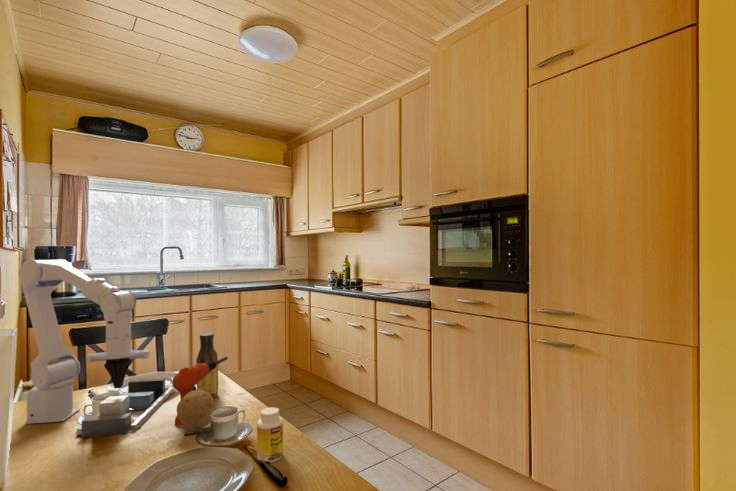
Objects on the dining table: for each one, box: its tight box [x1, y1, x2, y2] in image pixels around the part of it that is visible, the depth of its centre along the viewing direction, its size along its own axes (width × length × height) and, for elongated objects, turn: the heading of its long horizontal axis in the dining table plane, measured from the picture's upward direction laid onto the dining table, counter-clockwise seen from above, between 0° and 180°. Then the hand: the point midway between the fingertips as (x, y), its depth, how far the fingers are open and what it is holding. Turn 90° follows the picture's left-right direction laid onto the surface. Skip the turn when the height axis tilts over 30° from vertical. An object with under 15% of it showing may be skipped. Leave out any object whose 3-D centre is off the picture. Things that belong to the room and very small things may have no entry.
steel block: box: [98, 395, 130, 415], centre depth 101 cm, size 5×5×7 cm
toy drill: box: [171, 356, 229, 427], centre depth 109 cm, size 5×19×15 cm, turn 154°
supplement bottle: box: [256, 407, 284, 464], centre depth 85 cm, size 6×6×10 cm
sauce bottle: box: [195, 332, 219, 399], centre depth 121 cm, size 7×6×20 cm
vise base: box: [76, 386, 175, 438], centre depth 110 cm, size 14×30×4 cm, turn 9°
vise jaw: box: [119, 378, 166, 411], centre depth 117 cm, size 10×12×5 cm
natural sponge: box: [176, 390, 216, 432], centre depth 99 cm, size 9×9×10 cm
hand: (118, 387), depth 104 cm, fingers closed
